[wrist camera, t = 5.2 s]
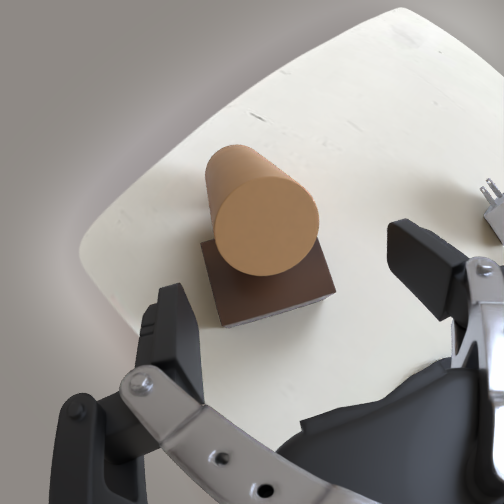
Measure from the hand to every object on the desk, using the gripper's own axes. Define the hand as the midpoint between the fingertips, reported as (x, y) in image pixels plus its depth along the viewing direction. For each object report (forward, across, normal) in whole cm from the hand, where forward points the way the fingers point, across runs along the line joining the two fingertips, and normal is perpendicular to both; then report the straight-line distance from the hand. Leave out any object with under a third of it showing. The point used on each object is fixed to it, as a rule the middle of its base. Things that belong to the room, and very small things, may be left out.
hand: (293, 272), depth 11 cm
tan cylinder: (+14, 0, +4) cm, 15 cm away
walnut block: (+11, 0, +8) cm, 13 cm away
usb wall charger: (+11, -27, +8) cm, 30 cm away
